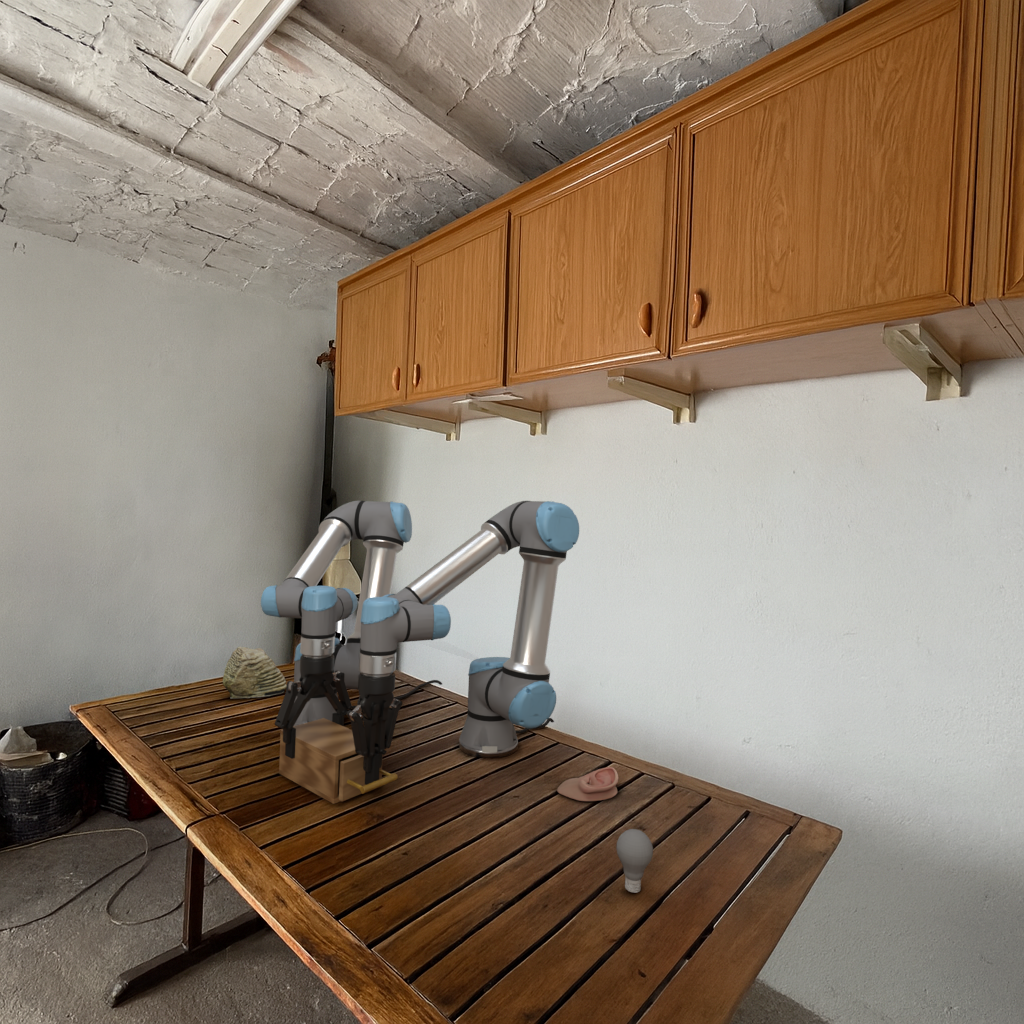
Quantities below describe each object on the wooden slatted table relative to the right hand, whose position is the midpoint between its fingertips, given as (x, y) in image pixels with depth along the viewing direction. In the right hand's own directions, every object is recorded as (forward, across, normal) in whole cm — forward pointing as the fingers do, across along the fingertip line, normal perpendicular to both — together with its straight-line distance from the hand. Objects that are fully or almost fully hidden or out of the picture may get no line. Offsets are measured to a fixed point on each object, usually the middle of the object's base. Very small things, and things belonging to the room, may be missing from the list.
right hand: (371, 784), depth 132 cm
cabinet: (+4, 0, +16) cm, 16 cm away
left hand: (-1, 0, +21) cm, 21 cm away
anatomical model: (+3, +37, -30) cm, 48 cm away
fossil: (+4, +19, +81) cm, 84 cm away
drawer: (+3, 0, +10) cm, 10 cm away
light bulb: (+4, +11, -55) cm, 56 cm away
